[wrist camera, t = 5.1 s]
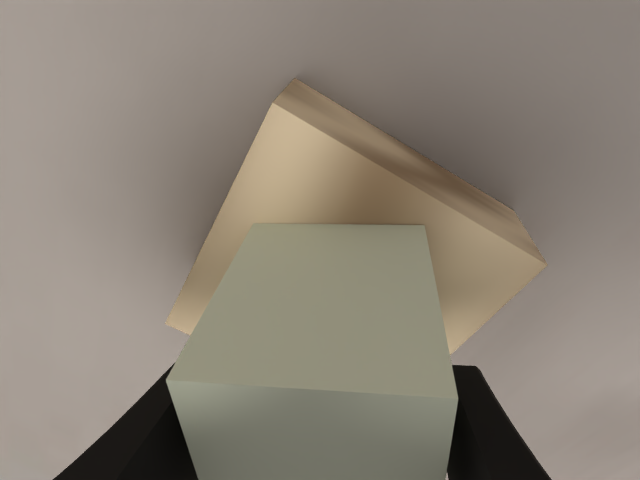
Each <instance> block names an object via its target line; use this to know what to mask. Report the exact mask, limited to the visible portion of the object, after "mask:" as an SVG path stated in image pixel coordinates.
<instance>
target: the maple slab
mask: <svg viewBox="0 0 640 480" xmlns="http://www.w3.org/2000/svg"><path fill="white" fill-rule="evenodd" d="M253 223H275V224H366V225H425V230H426V235H427V240H428V245H429V251H430V256H431V261H432V266H433V271H434V276H435V281H436V286H437V292H438V297H439V302H440V307H441V312H442V317H443V322H444V327H445V333H446V338H447V343H448V348H449V353H450V355H451V354H452V353H453V352H454V351H455V350H456V349H458V348H459V347H460V346H461V345H462V344H463V343H464V342H465V341H466V340H467V339H468V338H469V337H470V336H472V335H473V334H474V333H475V332H476V331H477V330H478V329H479V328H480V327H481V326H482V325H483V324H485V323H486V322H487V321H488V320H489V319H490V318H491V317H492V316H493V315H494V314H495V313H496V312H498V311H499V310H500V309H501V308H502V307H503V306H504V305H505V304H506V303H507V302H508V301H509V300H511V299H512V298H513V297H514V296H515V295H516V294H517V293H518V292H519V291H520V290H521V289H522V288H523V287H525V286H526V285H527V284H528V283H529V282H530V281H531V280H532V279H533V278H534V277H535V276H536V275H538V274H539V273H540V272H541V271H542V270H543V269H544V268H545V267H546V266H547V263H546V261H545V260H544V258H543V257H542V255H541V253H540V252H539V250H538V249H537V247H536V245H535V244H534V242H533V241H532V239H531V238H530V236H529V234H528V233H527V231H526V230H525V228H524V226H523V225H522V223H521V222H520V220H519V218H518V217H517V215H516V214H515V212H514V211H513V210H512V209H510V208H508V207H507V206H505V205H503V204H502V203H500V202H499V201H497V200H495V199H494V198H492V197H490V196H489V195H487V194H485V193H484V192H482V191H480V190H479V189H477V188H475V187H474V186H472V185H471V184H469V183H467V182H466V181H464V180H462V179H461V178H459V177H457V176H456V175H454V174H452V173H451V172H449V171H447V170H446V169H444V168H442V167H441V166H439V165H438V164H436V163H434V162H433V161H431V160H429V159H428V158H426V157H424V156H423V155H421V154H419V153H418V152H416V151H414V150H413V149H411V148H410V147H408V146H406V145H405V144H403V143H401V142H400V141H398V140H396V139H395V138H393V137H391V136H390V135H388V134H386V133H385V132H383V131H382V130H380V129H378V128H377V127H375V126H373V125H372V124H370V123H368V122H367V121H365V120H363V119H362V118H360V117H358V116H357V115H355V114H354V113H352V112H350V111H349V110H347V109H345V108H344V107H342V106H340V105H339V104H337V103H335V102H334V101H332V100H330V99H329V98H327V97H326V96H324V95H322V94H321V93H319V92H317V91H316V90H314V89H312V88H311V87H309V86H307V85H306V84H304V83H302V82H301V81H299V80H298V79H296V78H294V79H293V80H292V82H291V83H290V84H289V85H288V86H287V87H286V88H285V89H284V90H283V91H282V93H281V94H280V95H279V96H278V97H277V98H276V99H275V100H274V101H273V102H272V104H271V106H270V108H269V110H268V113H267V115H266V117H265V119H264V121H263V123H262V125H261V127H260V129H259V131H258V133H257V135H256V137H255V139H254V141H253V143H252V145H251V148H250V150H249V152H248V154H247V156H246V158H245V160H244V162H243V164H242V166H241V168H240V170H239V172H238V174H237V176H236V178H235V180H234V183H233V185H232V187H231V189H230V191H229V193H228V195H227V197H226V199H225V201H224V203H223V205H222V207H221V209H220V211H219V213H218V215H217V218H216V220H215V222H214V224H213V226H212V228H211V230H210V232H209V234H208V236H207V238H206V240H205V242H204V244H203V246H202V248H201V251H200V253H199V255H198V257H197V259H196V261H195V263H194V265H193V267H192V269H191V271H190V273H189V275H188V277H187V279H186V281H185V283H184V286H183V288H182V290H181V292H180V294H179V296H178V298H177V300H176V302H175V304H174V306H173V308H172V310H171V312H170V314H169V316H168V318H167V321H166V323H165V324H167V325H169V326H171V327H173V328H175V329H177V330H179V331H182V332H184V333H186V334H188V335H190V336H191V334H192V332H193V330H194V329H195V327H196V325H197V323H198V321H199V320H200V318H201V316H202V314H203V312H204V311H205V309H206V307H207V305H208V303H209V302H210V300H211V298H212V296H213V295H214V293H215V291H216V289H217V287H218V286H219V284H220V282H221V280H222V278H223V277H224V275H225V273H226V271H227V269H228V268H229V266H230V264H231V262H232V261H233V259H234V257H235V255H236V253H237V252H238V250H239V248H240V246H241V244H242V243H243V241H244V239H245V237H246V235H247V234H248V232H249V230H250V228H251V227H252V225H253Z"/></svg>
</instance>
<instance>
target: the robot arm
mask: <svg viewBox="0 0 640 480" xmlns="http://www.w3.org/2000/svg"><path fill="white" fill-rule="evenodd" d="M175 363H176V362H175ZM175 363H174V364H175ZM174 364H173V365H172V366H171V367H170V368H169V369H168V370H167V371H166V372H165V373H164V374H163V375H162V376H161V377H160V379H159V380H158V381H157V382H156V383H155V384H154V385H153V386H152V387H151V388H150V389H149V390H148V391H147V392H146V393H145V394H144V395H143V396H142V397H141V398H140V399H139V400H138V401H137V402H136V403H135V404H134V405H133V406H132V407H131V408H130V409H129V410H128V411H127V412H126V413H125V414H124V415H123V416H122V417H121V418H120V419H119V420H118V421H117V422H116V423H115V424H114V425H113V426H112V427H111V428H110V429H109V430H108V431H107V432H106V433H104V434H103V435H102V436H101V437H100V438H99V439H98V440H97V441H96V442H95V443H94V444H93V445H91V446H90V447H89V448H88V449H87V450H86V451H85V452H84V453H83V454H82V455H81V456H79V457H78V458H77V459H76V460H75V461H74V462H73V463H72V464H71V465H69V466H68V467H67V468H66V469H65V470H64V471H62V472H61V473H60V474H59V475H58V476H57V477H55V478H54V479H53V480H198V477H197V474H196V471H195V467H194V464H193V461H192V458H191V455H190V452H189V449H188V446H187V443H186V440H185V437H184V434H183V431H182V428H181V425H180V422H179V419H178V416H177V413H176V410H175V407H174V404H173V401H172V398H171V395H170V392H169V389H168V386H167V383H166V379H167V377H168V375H169V373H170V372H171V370H172V368H173V366H174ZM452 368H453V374H454V379H455V384H456V389H457V394H458V404H457V410H456V417H455V423H454V429H453V435H452V441H451V447H450V454H449V460H448V466H447V473H448V478H449V480H551V478H550V477H549V476H548V474H547V473H546V472H545V470H544V469H543V467H542V466H541V465H540V463H539V462H538V461H537V459H536V458H535V456H534V455H533V453H532V452H531V450H530V449H529V448H528V446H527V445H526V443H525V442H524V440H523V439H522V437H521V436H520V435H519V433H518V432H517V430H516V429H515V427H514V426H513V424H512V423H511V421H510V420H509V418H508V416H507V415H506V413H505V412H504V410H503V408H502V407H501V405H500V404H499V402H498V400H497V399H496V397H495V396H494V394H493V392H492V390H491V389H490V387H489V385H488V384H487V382H486V380H485V378H484V377H483V375H482V373H481V371H480V370H479V369H478V368H477V367H476V366H462V365H452Z"/></svg>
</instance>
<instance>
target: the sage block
mask: <svg viewBox="0 0 640 480" xmlns="http://www.w3.org/2000/svg"><path fill="white" fill-rule="evenodd" d="M166 383H167V386H168V389H169V392H170V395H171V398H172V401H173V404H174V407H175V410H176V413H177V416H178V419H179V422H180V425H181V428H182V431H183V434H184V437H185V440H186V443H187V446H188V449H189V452H190V455H191V458H192V461H193V464H194V467H195V471H196V474H197V477H198V480H445V478H446V472H447V466H448V460H449V454H450V447H451V441H452V435H453V429H454V423H455V417H456V410H457V404H458V394H457V389H456V384H455V379H454V374H453V368H452V363H451V358H450V353H449V348H448V343H447V338H446V333H445V327H444V322H443V317H442V312H441V307H440V302H439V297H438V292H437V286H436V281H435V276H434V271H433V266H432V261H431V256H430V251H429V245H428V240H427V235H426V230H425V225H366V224H275V223H253V225H252V227H251V228H250V230H249V232H248V234H247V235H246V237H245V239H244V241H243V243H242V244H241V246H240V248H239V250H238V252H237V253H236V255H235V257H234V259H233V261H232V262H231V264H230V266H229V268H228V269H227V271H226V273H225V275H224V277H223V278H222V280H221V282H220V284H219V286H218V287H217V289H216V291H215V293H214V295H213V296H212V298H211V300H210V302H209V303H208V305H207V307H206V309H205V311H204V312H203V314H202V316H201V318H200V320H199V321H198V323H197V325H196V327H195V329H194V330H193V332H192V334H191V336H190V338H189V339H188V341H187V343H186V345H185V346H184V348H183V350H182V352H181V354H180V355H179V357H178V359H177V361H176V363H175V364H174V366H173V368H172V370H171V372H170V373H169V375H168V377H167V379H166Z"/></svg>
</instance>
